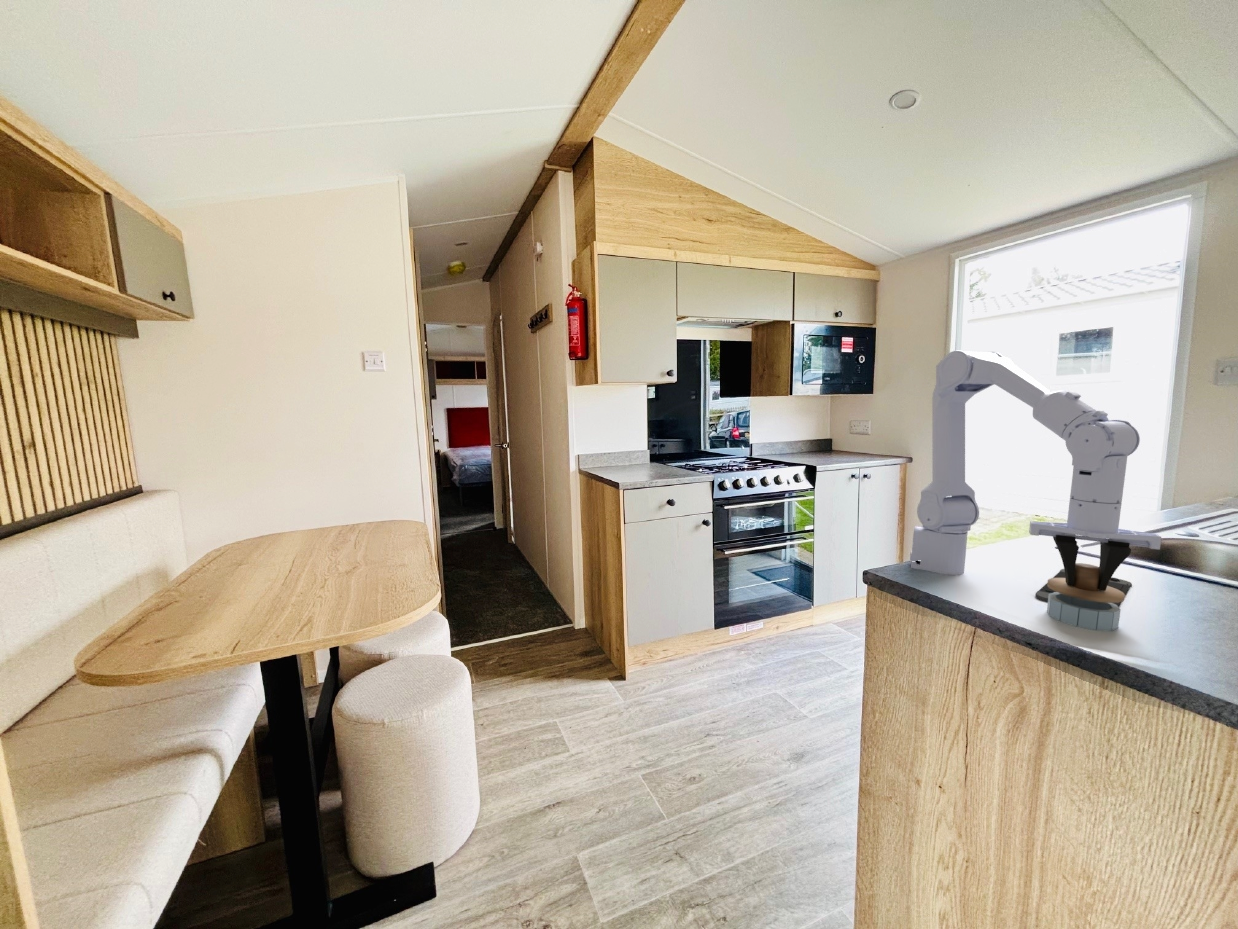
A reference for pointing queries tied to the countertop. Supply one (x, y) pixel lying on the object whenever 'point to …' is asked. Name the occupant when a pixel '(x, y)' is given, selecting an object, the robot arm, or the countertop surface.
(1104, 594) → the lid
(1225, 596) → the countertop surface
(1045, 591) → the gaming console
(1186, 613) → the countertop surface
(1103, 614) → the bowl
